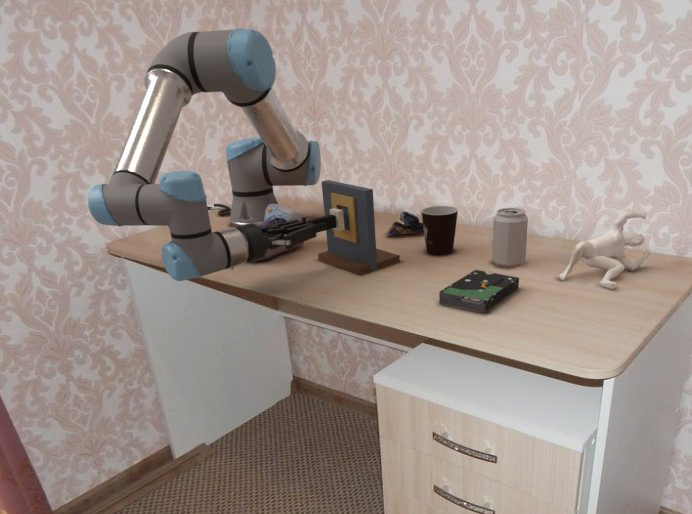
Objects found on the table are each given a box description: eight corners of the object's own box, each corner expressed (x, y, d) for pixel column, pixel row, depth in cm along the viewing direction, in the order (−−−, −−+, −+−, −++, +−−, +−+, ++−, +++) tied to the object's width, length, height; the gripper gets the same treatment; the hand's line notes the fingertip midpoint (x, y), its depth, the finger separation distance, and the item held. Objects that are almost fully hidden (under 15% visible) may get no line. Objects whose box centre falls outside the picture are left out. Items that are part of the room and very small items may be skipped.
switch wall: (360, 275, 139) (354, 193, 131) (318, 260, 150) (310, 183, 141) (400, 261, 146) (397, 183, 137) (357, 248, 157) (351, 174, 148)
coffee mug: (455, 257, 147) (455, 215, 142) (419, 256, 149) (418, 215, 144) (460, 242, 157) (460, 202, 152) (426, 242, 159) (426, 202, 154)
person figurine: (608, 239, 119) (646, 202, 129) (549, 242, 127) (588, 208, 138) (619, 300, 124) (654, 260, 134) (562, 299, 133) (599, 262, 143)
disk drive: (473, 281, 133) (438, 304, 122) (474, 269, 131) (438, 290, 121) (519, 290, 127) (486, 314, 117) (520, 276, 126) (486, 300, 116)
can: (526, 258, 144) (529, 206, 138) (523, 269, 138) (527, 215, 132) (494, 257, 146) (495, 205, 140) (489, 267, 140) (491, 214, 134)
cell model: (309, 204, 154) (244, 224, 142) (314, 246, 160) (252, 269, 147) (275, 197, 162) (210, 216, 149) (281, 237, 167) (219, 259, 155)
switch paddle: (339, 231, 139) (338, 211, 137) (331, 228, 142) (329, 209, 139) (344, 229, 140) (343, 210, 138) (336, 227, 142) (334, 208, 140)
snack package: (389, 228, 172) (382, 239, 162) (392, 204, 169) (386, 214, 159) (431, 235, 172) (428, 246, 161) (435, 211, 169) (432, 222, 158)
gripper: (228, 256, 132) (318, 232, 145) (260, 270, 123) (353, 242, 137) (221, 221, 129) (315, 199, 142) (254, 232, 120) (350, 208, 133)
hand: (333, 220), depth 139 cm, fingers closed
